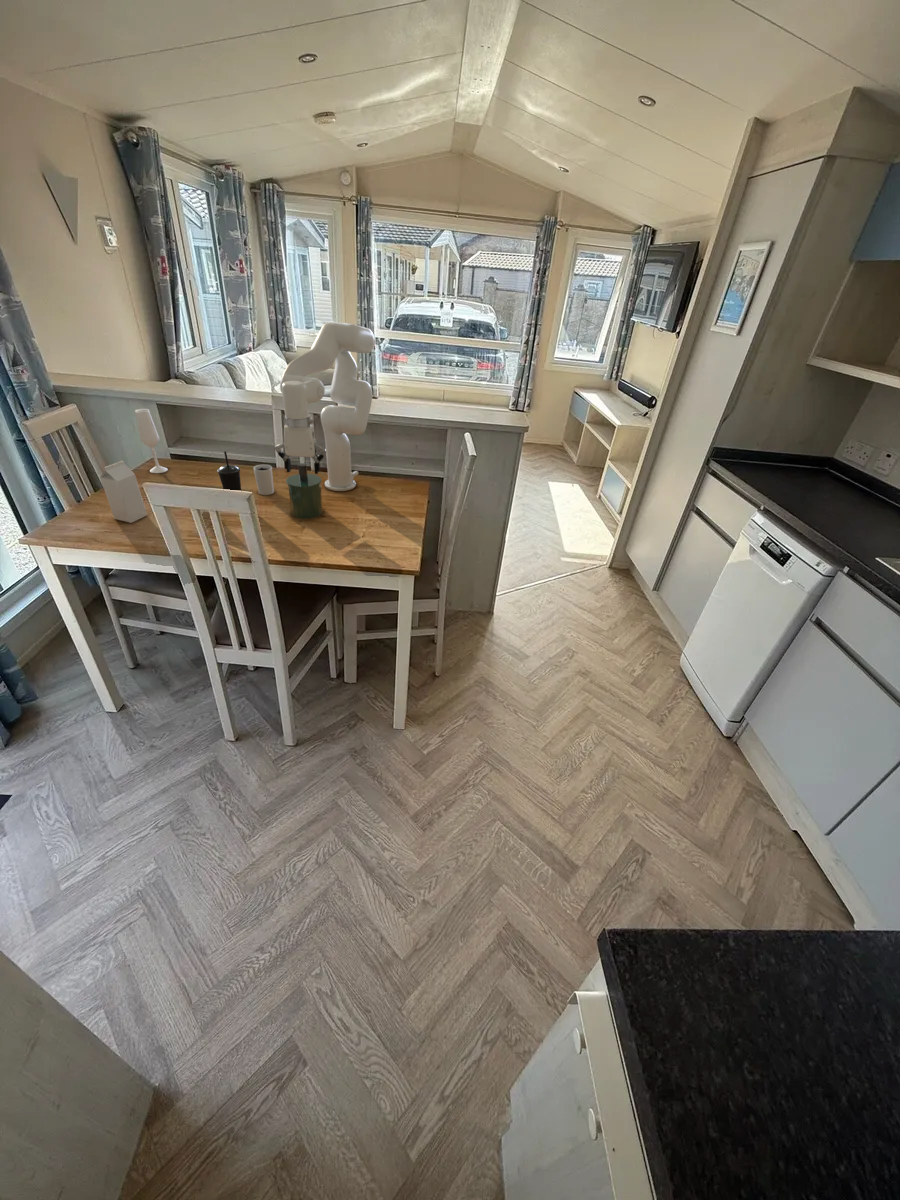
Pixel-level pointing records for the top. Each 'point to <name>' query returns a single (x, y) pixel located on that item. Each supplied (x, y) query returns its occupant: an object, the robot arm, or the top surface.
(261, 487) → the drinking glass
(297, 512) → the canister
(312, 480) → the lid
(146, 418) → the champagne flute
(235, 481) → the drinking cup
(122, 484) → the milk carton
